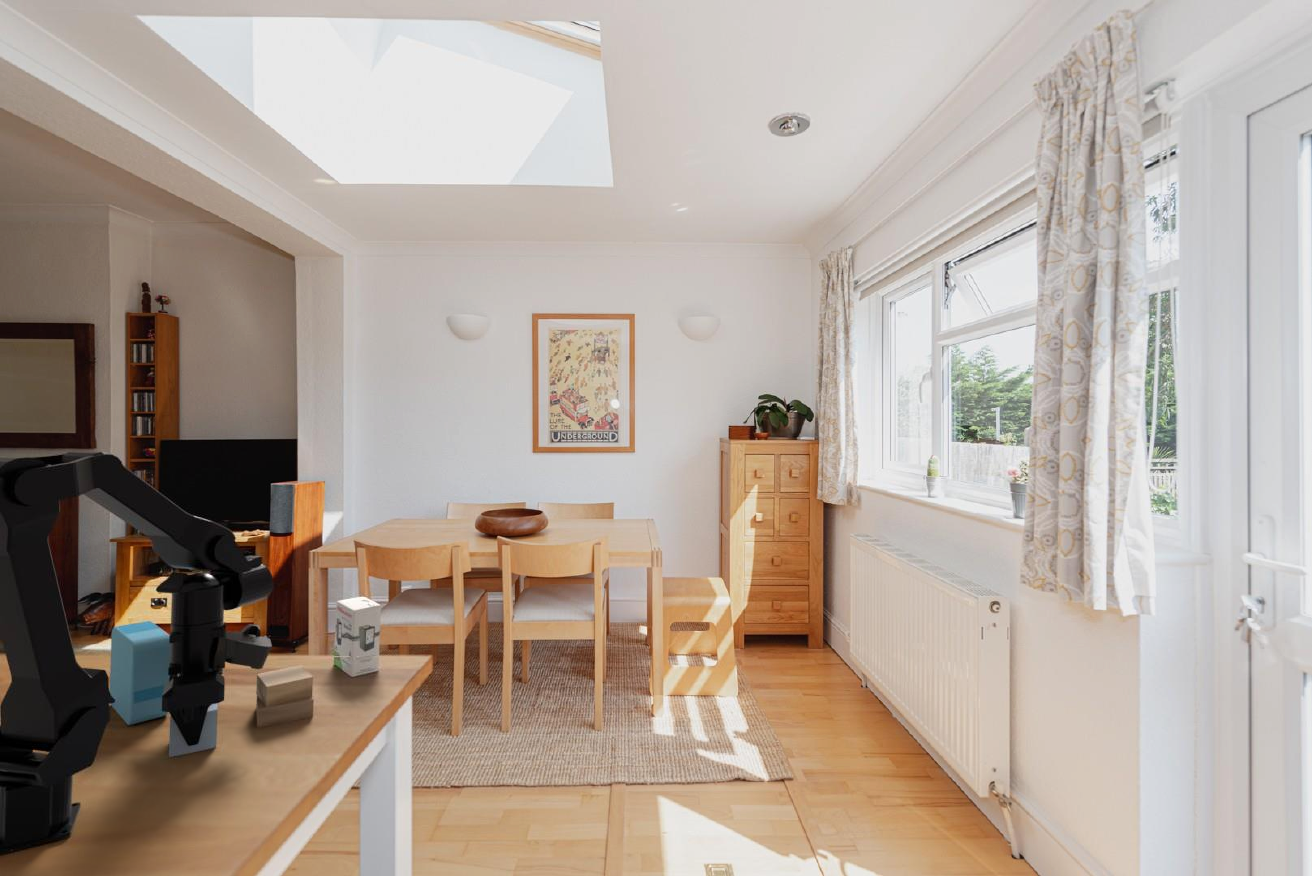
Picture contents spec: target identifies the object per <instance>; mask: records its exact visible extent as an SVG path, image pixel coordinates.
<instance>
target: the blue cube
mask: <svg viewBox="0 0 1312 876" xmlns="http://www.w3.org/2000/svg"><path fill="white" fill-rule="evenodd" d="M218 705H219V703H216V704H212V705H210V706H209V708H208V711H207V714H206V718H205V722H204V725H203V729H202V732H201V736H200V740H199V743H198V744H197V745H192V746H188V745H187V743H186V741H185V739H184V738H183V736H182V734H181V732H180V730H179V729H178V727H177V725H176V723H175V722H174V720H173V718H172V717H171V715H170V719H169V740H168V741H169V742H168V758H172V757H177V756H182V755H187V754H192V753H195V752H196V753H197V752H201V751H206V750H211V749H215V748H217V740H218V739H217V738H218V715H219V713H218V710H219V706H218Z"/></svg>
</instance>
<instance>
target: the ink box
mask: <svg viewBox="0 0 1312 876" xmlns="http://www.w3.org/2000/svg"><path fill="white" fill-rule="evenodd" d="M381 609H382V608H381V604H380V603H378V602H376V601H374V600H372V599H370V598H369V597H365V596H357V597H352V598H346V599H340V600H336V608H335V626H334V627H335V628H334V629H335V631H334V649H333V650H334V651H333V664H334V666H336V667H337V668H339V669H340V670H341V671H343V672H344V673H345V674H347V675H349V676H350V677H351V678H355V677H357V676H362V675H366V674H370V673H374V672H378V671H379V666H380V636H381V635H380V634H381ZM334 656H350V657H334ZM357 656H359V657H357ZM374 656H379V657H374Z"/></svg>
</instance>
